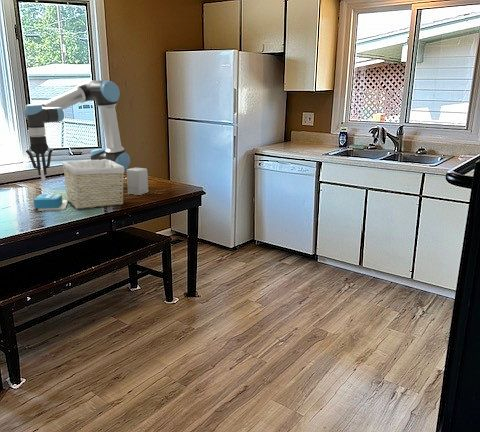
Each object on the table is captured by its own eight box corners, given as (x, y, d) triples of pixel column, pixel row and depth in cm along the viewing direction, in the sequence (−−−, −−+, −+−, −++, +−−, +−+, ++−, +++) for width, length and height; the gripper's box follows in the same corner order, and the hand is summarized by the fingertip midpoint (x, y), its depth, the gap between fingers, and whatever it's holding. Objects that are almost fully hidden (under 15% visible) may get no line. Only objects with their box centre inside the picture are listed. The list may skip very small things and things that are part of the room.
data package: (38, 194, 237) (62, 193, 239) (39, 202, 238) (63, 202, 240) (32, 200, 226) (57, 199, 228) (33, 208, 227) (58, 207, 229)
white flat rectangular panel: (68, 200, 245) (68, 199, 245) (65, 209, 229) (65, 208, 229) (43, 202, 242) (42, 200, 242) (38, 210, 225) (37, 209, 225)
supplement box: (149, 193, 266) (148, 168, 262) (139, 196, 258) (138, 170, 254) (136, 191, 269) (135, 167, 265) (127, 194, 262) (125, 169, 257)
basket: (111, 194, 261) (110, 157, 255) (127, 204, 239) (126, 165, 233) (63, 199, 246) (60, 160, 240) (76, 210, 225) (73, 168, 219)
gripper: (22, 137, 219) (28, 183, 226) (50, 136, 222) (56, 182, 229) (25, 135, 226) (31, 180, 233) (52, 134, 229) (57, 179, 236)
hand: (43, 181), depth 231 cm, fingers closed
